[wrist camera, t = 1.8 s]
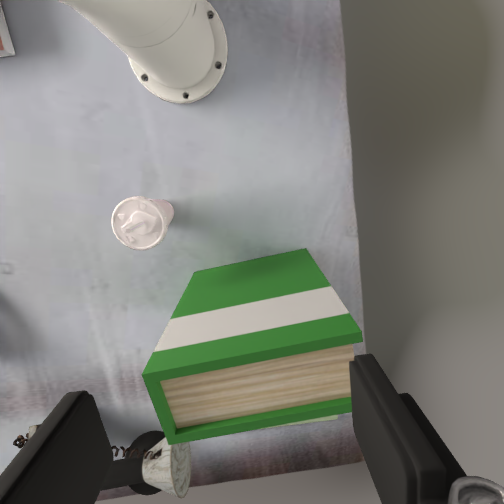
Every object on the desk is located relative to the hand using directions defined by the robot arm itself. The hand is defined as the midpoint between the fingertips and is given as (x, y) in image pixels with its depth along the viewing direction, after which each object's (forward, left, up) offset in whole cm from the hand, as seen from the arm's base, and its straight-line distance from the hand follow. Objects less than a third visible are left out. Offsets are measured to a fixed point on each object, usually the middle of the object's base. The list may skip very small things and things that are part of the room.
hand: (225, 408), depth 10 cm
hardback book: (+10, 0, -36) cm, 38 cm away
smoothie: (-3, -12, -36) cm, 38 cm away
